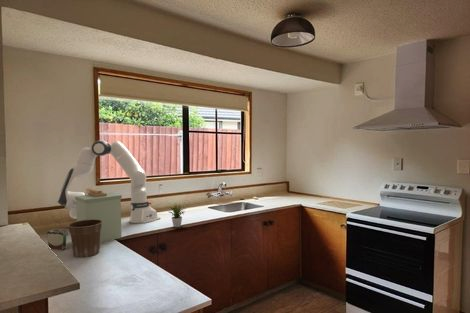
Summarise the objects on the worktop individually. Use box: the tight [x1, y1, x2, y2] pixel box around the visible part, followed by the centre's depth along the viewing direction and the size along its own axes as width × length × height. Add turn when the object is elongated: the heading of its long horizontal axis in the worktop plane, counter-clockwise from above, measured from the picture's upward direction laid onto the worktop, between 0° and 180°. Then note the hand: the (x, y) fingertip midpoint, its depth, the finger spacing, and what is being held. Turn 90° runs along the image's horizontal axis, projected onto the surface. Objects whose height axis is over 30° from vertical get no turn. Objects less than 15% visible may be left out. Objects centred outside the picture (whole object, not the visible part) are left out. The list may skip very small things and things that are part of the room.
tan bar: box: [85, 187, 103, 195], centre depth 190 cm, size 4×18×3 cm, turn 44°
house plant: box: [169, 202, 188, 228], centre depth 211 cm, size 14×14×16 cm
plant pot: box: [67, 219, 102, 258], centre depth 160 cm, size 16×16×16 cm
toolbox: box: [75, 191, 123, 243], centre depth 186 cm, size 21×17×28 cm
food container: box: [45, 228, 69, 251], centre depth 169 cm, size 12×6×10 cm, turn 74°
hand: (86, 197), depth 200 cm, fingers open, 8 cm apart
